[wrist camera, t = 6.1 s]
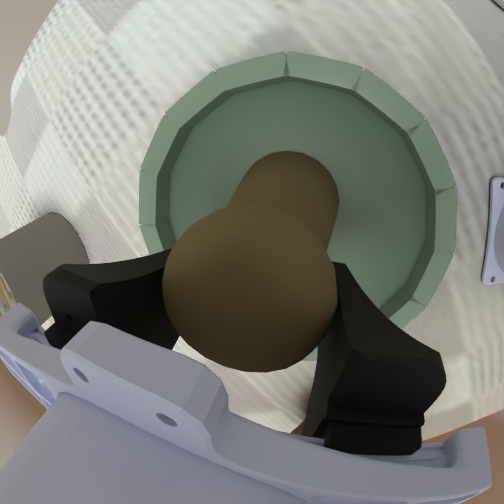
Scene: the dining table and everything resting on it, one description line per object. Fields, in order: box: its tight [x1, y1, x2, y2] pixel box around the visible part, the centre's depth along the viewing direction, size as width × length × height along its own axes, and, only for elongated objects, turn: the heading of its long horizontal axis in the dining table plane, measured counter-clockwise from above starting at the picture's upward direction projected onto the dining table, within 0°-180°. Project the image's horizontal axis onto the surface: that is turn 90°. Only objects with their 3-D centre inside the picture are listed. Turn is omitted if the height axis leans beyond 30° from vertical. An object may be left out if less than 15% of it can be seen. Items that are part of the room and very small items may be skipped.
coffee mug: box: [0, 213, 89, 326], centre depth 23 cm, size 13×10×10 cm
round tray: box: [139, 51, 457, 361], centre depth 16 cm, size 20×20×2 cm
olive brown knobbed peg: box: [162, 150, 339, 372], centre depth 11 cm, size 6×6×11 cm
